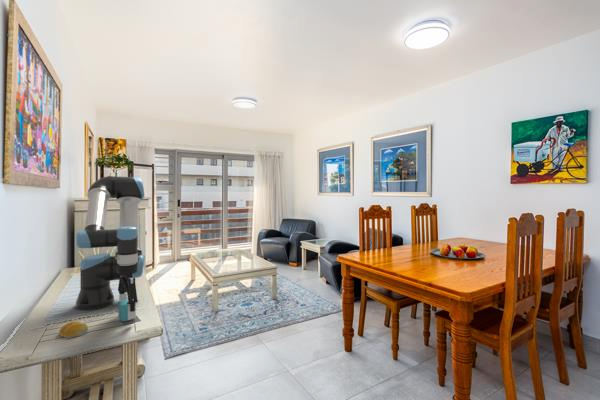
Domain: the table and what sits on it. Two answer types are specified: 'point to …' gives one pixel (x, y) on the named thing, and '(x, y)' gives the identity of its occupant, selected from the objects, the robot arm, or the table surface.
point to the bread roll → (73, 329)
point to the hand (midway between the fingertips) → (127, 313)
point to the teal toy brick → (123, 310)
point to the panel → (130, 321)
